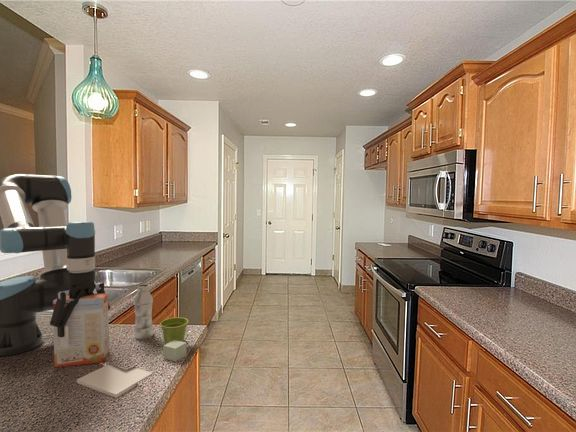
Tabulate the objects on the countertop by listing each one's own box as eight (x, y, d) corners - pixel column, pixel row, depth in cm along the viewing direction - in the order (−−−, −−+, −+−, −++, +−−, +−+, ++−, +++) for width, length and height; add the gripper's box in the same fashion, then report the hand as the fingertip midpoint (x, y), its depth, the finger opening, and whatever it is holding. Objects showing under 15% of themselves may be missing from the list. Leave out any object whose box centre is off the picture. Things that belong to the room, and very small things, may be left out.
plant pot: (193, 346, 118) (193, 322, 117) (168, 355, 111) (168, 329, 110) (179, 338, 124) (179, 315, 124) (155, 346, 117) (155, 322, 117)
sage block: (163, 360, 107) (163, 345, 107) (174, 354, 112) (174, 339, 111) (175, 364, 105) (175, 348, 105) (186, 357, 109) (186, 342, 109)
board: (76, 383, 93) (76, 379, 93) (115, 364, 104) (115, 361, 104) (116, 398, 87) (116, 394, 87) (152, 376, 97) (152, 372, 97)
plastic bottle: (157, 338, 124) (157, 285, 123) (140, 345, 118) (140, 289, 117) (146, 334, 127) (146, 282, 126) (130, 340, 122) (129, 286, 121)
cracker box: (109, 354, 111) (109, 292, 110) (104, 363, 105) (103, 297, 104) (62, 358, 108) (60, 294, 107) (53, 367, 102) (52, 299, 101)
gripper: (49, 279, 93) (51, 357, 94) (121, 265, 114) (122, 329, 115) (33, 276, 96) (35, 351, 97) (106, 263, 117) (107, 325, 118)
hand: (82, 339), depth 106 cm, fingers open, 10 cm apart
